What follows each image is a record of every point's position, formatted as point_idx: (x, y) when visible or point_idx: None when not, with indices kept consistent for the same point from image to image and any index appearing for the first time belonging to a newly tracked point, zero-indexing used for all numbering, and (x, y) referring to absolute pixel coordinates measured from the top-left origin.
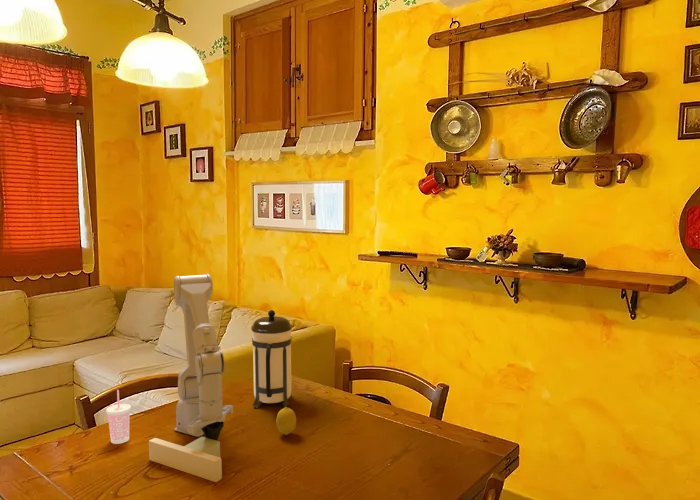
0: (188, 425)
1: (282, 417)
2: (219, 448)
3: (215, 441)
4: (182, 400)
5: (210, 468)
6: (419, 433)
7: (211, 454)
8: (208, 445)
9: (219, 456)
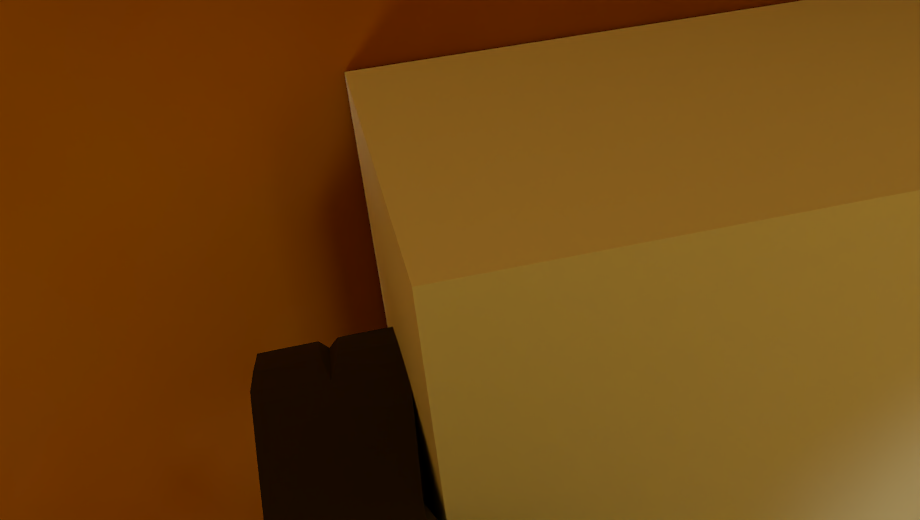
0: None
1: None
2: (398, 170)
3: (512, 411)
4: None
5: None
6: None
7: (746, 93)
8: (872, 338)
9: (378, 86)
